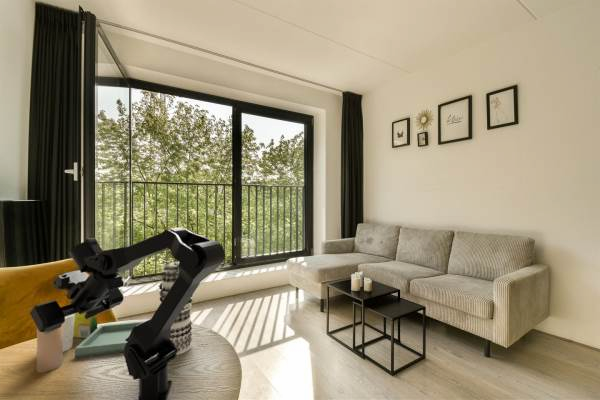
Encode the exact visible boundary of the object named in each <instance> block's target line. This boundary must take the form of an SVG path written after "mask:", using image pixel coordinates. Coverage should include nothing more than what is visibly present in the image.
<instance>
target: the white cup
mask: <svg viewBox="0 0 600 400" xmlns="http://www.w3.org/2000/svg"><path fill="white" fill-rule="evenodd" d="M74 326H75V314H72V315H69V316H67V317H65V322H64V323H63V353H65V352H67V351H68V350H71V349H72V348H73V339H74V337H73V336H74Z"/></svg>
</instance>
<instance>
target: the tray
mask: <svg viewBox="0 0 600 400" xmlns="http://www.w3.org/2000/svg"><path fill="white" fill-rule="evenodd" d="M145 321H146V320H141V321H132V322H130V321H129V322H122V323H110V324H102V325H99V326H97V329H96V330H95V331H94V332H93V333H92V334H91V335H89V336H88V337H87V338H84V340H83V341H82V342H80V343H79V344H78V345H77V346H76V347H75V348H74V359H78V358H85V357H94V356H100V355H101V356H103V355H109V354H118V353H124V348H125V345H126V343H127V341H125V339H127V338H128V337H129V336H130V334H131V331H132V329H133V328H134V327H135V326H137V325H139V324H141V323H143V322H145Z"/></svg>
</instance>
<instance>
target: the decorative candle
mask: <svg viewBox="0 0 600 400" xmlns="http://www.w3.org/2000/svg"><path fill="white" fill-rule="evenodd" d="M161 272H162V278H161V279H162V280H161V282H160V284H159V285H158V287H159V291H160V292H159V293H158V294H159V296H160V297H159V302H160V303H161V302H162V301H163V299H164V298H165V296H166V295H167V293H168V291H169V290H170V288H171V287H172V285H173V284H174V282H175V280H176V279H177V277H178V276H179V261H175V262H174V261H173V262H169V263H166V264H165V265H164V268H161ZM192 297H193V295H192V296H191V298H190V299H189V301H188V302H187V304H186V305H185V307H184V308H183V310H182V311H181V313H180V314H179V316H178V317H177V319H176V320H175V322H174V323H173V325H172V326H171V337H170V340H171V341H172V343H173V344H174V345H175V347H176V348H177V350H178V352H177V355H176V356H178V355H181V354H184V353H186V352H188V351H189V350H190V349H191V348H192V340H193V338H192V336H193V334H192V329H193V328H192V325H193V322H192V320H191V308H192V302H193V299H192Z"/></svg>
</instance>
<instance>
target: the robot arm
mask: <svg viewBox="0 0 600 400" xmlns="http://www.w3.org/2000/svg"><path fill="white" fill-rule="evenodd" d="M168 250H169V251H170V252H171V254H172V257H173V259H175V260H176V261H177V262H179V276H178V277H177V279H176V280H175V282H174V284H173V285H172V287H171V288H170V290H169V291H168V293H167V295H166V296H165V298H164V299H163V301H162V302H161V301H160V304H159V306H158V307H157V309H156V310H155V312H154V313H153V315H152V316H151V317H150V318H149V319H147V320H144V321H145V322H143V323H141V324H139V325H137V326H135V327H134V328H133V329H132V331H131V334H130V336H129V337H128V338H127V339H125V341H127V343H126V345H125V348H124V352H123V356H124V360H125V363H126V368H127V372H128V375H129V376H131V377H132V380H138V392H137V394H136V396H135V398H134V400H167V399H168V395H169V393H170V390H171V386H172V384H173V381H172V380H168V379H169V378H168V374H169V372H168V371H169V369H168V368H169V366H168V365H169V362H171V361H173V360H174V359H176V358H177V356H178V355H177V352H178V350H177V348H176V347H175V345H174V344H173V343H172V341H171V340H170V337H171V326H172V325H173V323H174V322H175V320H176V319H177V317H178V316H179V314H180V313H181V311H182V310H183V308H184V307H185V305H186V304H187V302H188V301H189V299H192V297H193V295H194V294H195V291H196V290H197V288H198V287H199V286H200V284H201V283H202V282H203V281H204V280H205V279H206V278H208V277H209V276H210V275H211V274H212V273H214V272H215V271H216V270H217V269H218V268H219V267H220V266H221V265H222V264H223V263H224V260H225V259H226V254H225V249H224V246H223V245H222V244H221V243H220V242H219V241H217V240H211V239H210V238H208V237H206V236H202V235H200V234H197V233H195V232H192V231H190V230H188V229H187V228H185V227H183V226H182V227H181V226H180V227H174V228H166V229H165V230H163V231H162V232H160V233H158V234H155V235H152V236H150V237H148V238H146V239H143V240H140V241H138V242H135V243H133V244H130V245H129V246H124V247H123V246H122V247H117V248H110V249H106V250H104V249H102V248H101V246H100V244H99V243H98V240H97V239H96V237H95V238H93V237H92V238H86V239H85V241H83V242H80V243H78V244H76V245H75V246H73V247H71V248H70V249H69V251H68V254H69V255H70V258H71V259H72V260H73V262H74V264H75V265H76V267H77V268H78V270H73V271H68V272H64V273H63V274H60V275H57V276H56V277H55V278H54V281H53V284H52V285H53V287H54V288H55V289H57V290H58V291H62V290H65V291H66V292H67V293H66V298H67V300H70V303H69V304H67V305H63V306H60V304H59V302H58V301H57V300H56V299H55V300H54V299H53V300H49V301H45V302H42V303H38V304H35V305H34V307H32V309H31V310H30V312H29V315H30V316H31V318H32V320H33V322H34V324H35V326H36V329H37V328H38V330H39V332H44V333H45V335H46V334H48V333H50V332H52V331H54V330H56V329H58V328H60V327H61V325H62V324H63V323H64V322H65V317H67V316H69V315H72V314H75V313H79V314H83V313H85V312H86V314H85V316H84V317H85V319H88V318H91V317H93V316H95V315H97V316H98V315H100V314H102V313H104V312H106V311H109V310H111V309H113V308H115V307H117V306H120V305H121V304H122V303H123V302H124V297H125V296H124V294H123V293H122V292H121V290H120V288H123V287H124V285H125V284H124V280H123V278H122V277H123V276H121V275H120V273H121V272H126V271H129V270H132V269H134V268H136V267H137V266H139V265H140V264H141V263H142V261H143V260H145V259H147V258H151V257H152V256H155V255H157V254H161V253H163V252H166V251H168ZM89 273H90V274H89ZM191 296H192V297H191Z"/></svg>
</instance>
